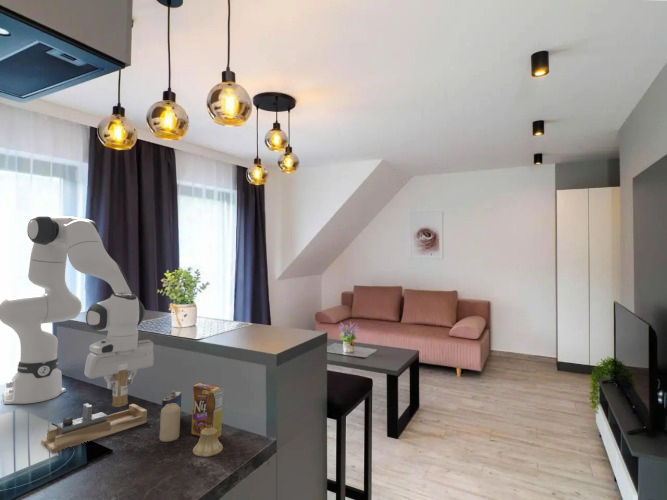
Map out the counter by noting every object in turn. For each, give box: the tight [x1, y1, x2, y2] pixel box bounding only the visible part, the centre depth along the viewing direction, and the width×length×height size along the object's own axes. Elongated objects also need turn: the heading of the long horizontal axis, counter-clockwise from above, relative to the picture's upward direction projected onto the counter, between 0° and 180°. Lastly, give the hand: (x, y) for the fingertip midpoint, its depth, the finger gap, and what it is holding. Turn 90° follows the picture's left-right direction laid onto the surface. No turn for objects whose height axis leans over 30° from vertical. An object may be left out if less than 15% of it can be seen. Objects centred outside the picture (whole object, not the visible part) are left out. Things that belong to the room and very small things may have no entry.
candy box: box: [191, 381, 224, 438], centre depth 116 cm, size 9×4×15 cm, turn 65°
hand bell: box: [192, 393, 224, 458], centre depth 107 cm, size 8×8×16 cm
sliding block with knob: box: [56, 402, 108, 436], centre depth 112 cm, size 4×12×8 cm, turn 144°
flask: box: [161, 389, 182, 419], centre depth 123 cm, size 9×3×11 cm, turn 171°
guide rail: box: [40, 403, 148, 454], centre depth 115 cm, size 9×26×4 cm, turn 144°
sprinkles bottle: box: [111, 363, 129, 408], centre depth 120 cm, size 5×5×14 cm
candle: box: [159, 403, 182, 443], centre depth 113 cm, size 6×6×10 cm
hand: (120, 386), depth 120 cm, fingers closed on sprinkles bottle, 4 cm apart
